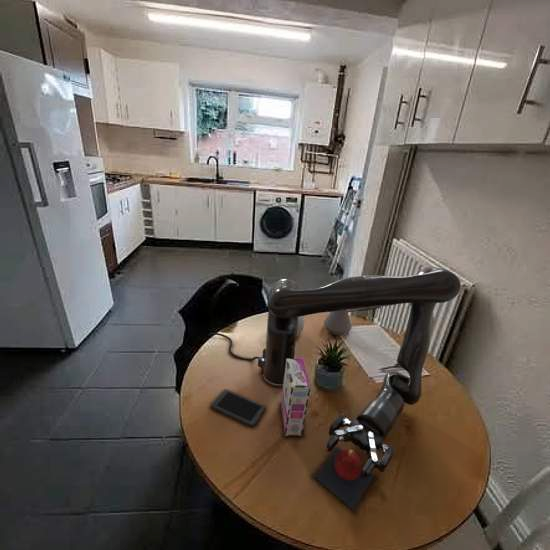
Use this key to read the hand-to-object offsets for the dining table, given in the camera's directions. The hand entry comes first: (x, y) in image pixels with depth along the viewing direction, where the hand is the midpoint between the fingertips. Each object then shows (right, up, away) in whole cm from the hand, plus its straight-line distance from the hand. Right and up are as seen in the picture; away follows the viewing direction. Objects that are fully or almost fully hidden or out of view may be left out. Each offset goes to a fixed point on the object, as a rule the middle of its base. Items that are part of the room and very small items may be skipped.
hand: (344, 461), depth 67 cm
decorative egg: (-10, +17, +58) cm, 61 cm away
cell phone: (-26, +3, +20) cm, 33 cm away
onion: (+1, -6, +4) cm, 7 cm away
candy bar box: (-11, 0, +18) cm, 21 cm away
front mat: (+1, -6, +4) cm, 7 cm away
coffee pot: (+15, +16, +61) cm, 65 cm away
